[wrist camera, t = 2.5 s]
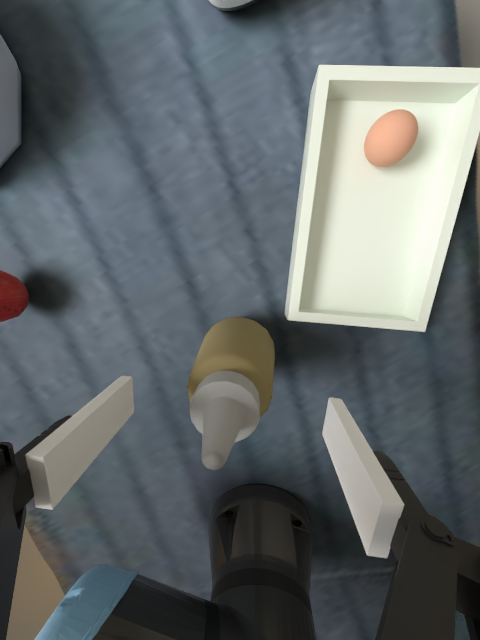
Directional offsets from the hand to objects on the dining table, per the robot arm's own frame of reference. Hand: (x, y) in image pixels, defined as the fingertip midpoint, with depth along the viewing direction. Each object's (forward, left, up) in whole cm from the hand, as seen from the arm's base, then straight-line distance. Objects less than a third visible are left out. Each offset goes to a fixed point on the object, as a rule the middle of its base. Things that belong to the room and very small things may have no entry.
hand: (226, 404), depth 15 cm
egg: (+21, -12, -13) cm, 27 cm away
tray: (+15, -12, -14) cm, 23 cm away
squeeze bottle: (0, 0, -14) cm, 14 cm away
